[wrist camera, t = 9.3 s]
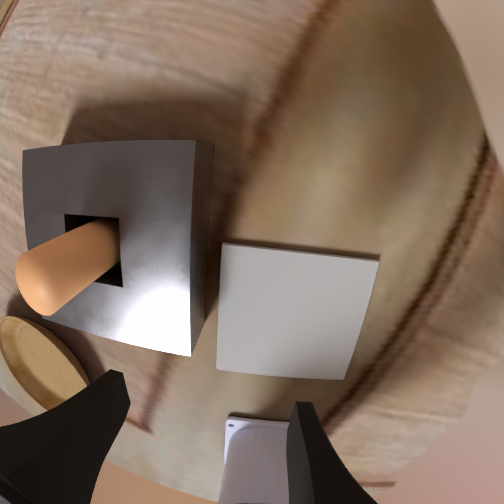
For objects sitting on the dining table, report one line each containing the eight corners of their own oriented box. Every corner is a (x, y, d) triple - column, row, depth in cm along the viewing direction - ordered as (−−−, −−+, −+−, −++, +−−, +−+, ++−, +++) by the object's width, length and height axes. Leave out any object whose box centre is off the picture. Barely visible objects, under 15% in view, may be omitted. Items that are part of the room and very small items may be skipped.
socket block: (204, 322, 20) (190, 356, 16) (70, 295, 21) (42, 318, 17) (213, 143, 16) (195, 140, 12) (59, 147, 17) (22, 150, 13)
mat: (342, 376, 21) (343, 379, 20) (217, 365, 21) (216, 368, 21) (377, 259, 18) (379, 261, 17) (223, 242, 18) (221, 244, 18)
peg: (144, 254, 19) (65, 321, 10) (108, 251, 19) (24, 309, 10) (141, 210, 18) (50, 254, 9) (104, 210, 18) (10, 250, 9)
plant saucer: (31, 387, 27) (21, 399, 25) (-5, 292, 22) (-19, 302, 20) (119, 425, 26) (111, 440, 24) (88, 322, 22) (73, 338, 19)
